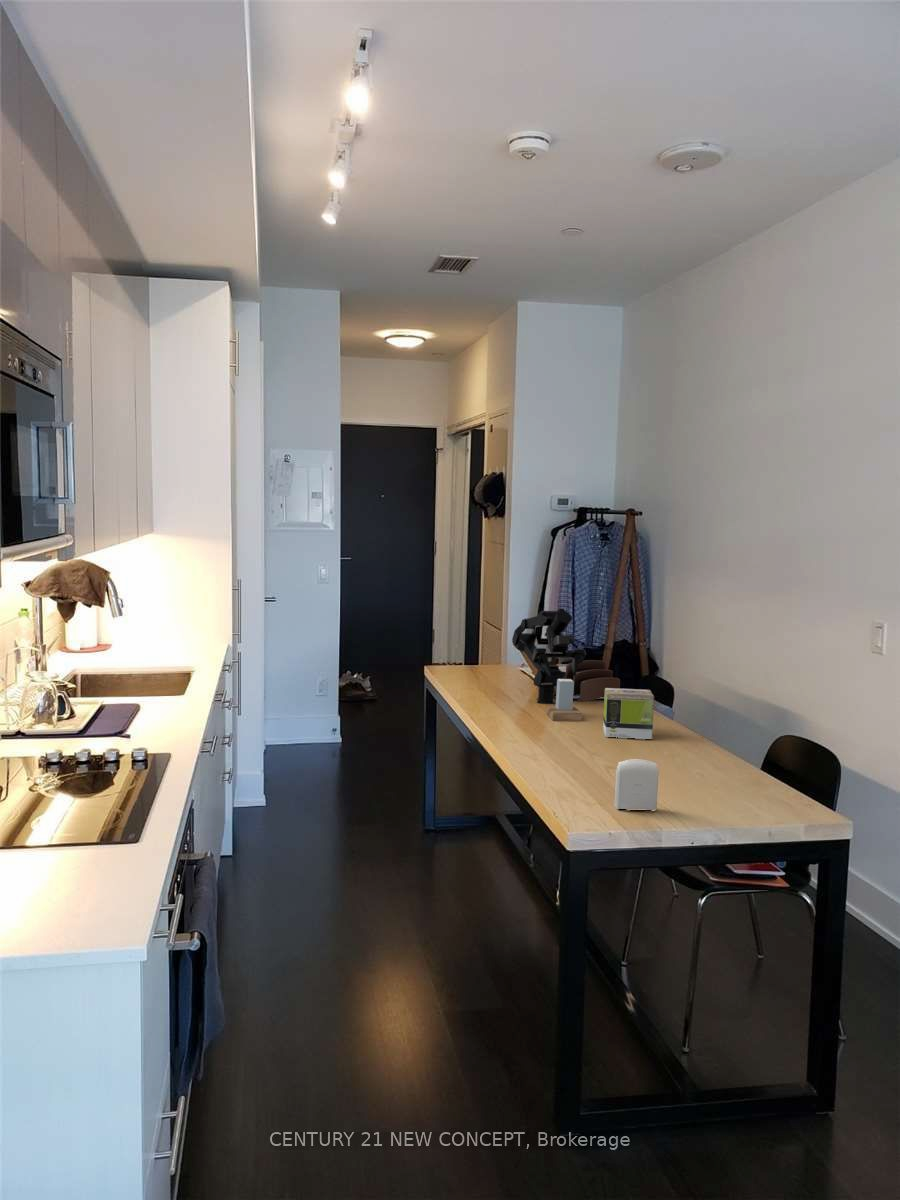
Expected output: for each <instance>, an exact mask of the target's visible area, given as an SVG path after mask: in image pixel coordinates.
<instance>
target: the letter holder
mask: <svg viewBox="0 0 900 1200" xmlns="http://www.w3.org/2000/svg"><path fill="white" fill-rule="evenodd" d="M571 664H572V662H570V663H568V664H567V665H566V667H565V677H564V679H571V680H572V681H574V693H573V695H576V694H580V698H577V700H578V701H577V702H579V701H580V702H579V703H583V702H593V700H594V701H596V700H595V699H597V698H600V697H604V695H605V688H620V689H621V679H620V678H619V677H613V675H614V672H613V670H611V669H607V668H606V667H607V661H605V660H601V659H600V660H598V659H584V660H583V662H582V663H580V664H579V665H578V666H577V672H576V676H574V674H573V669H572V665H571Z"/></svg>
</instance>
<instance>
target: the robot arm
mask: <svg viewBox="0 0 900 1200" xmlns="http://www.w3.org/2000/svg"><path fill="white" fill-rule="evenodd" d="M572 620H573V618H572V615H571V614H570V613H569V612H568V611H566V610H565V609H564V608H558V609H557V610H541V611H540V612H539V613H537V615H535V616H532V617H529V618H524V619H522V620H521V623H520V624H519V626H518V627H516V628H515V630H514V632H513V635H512V639H511V641H512V645H513V646H514V648H515V649H517V650H518V651H521V652H523V653H524V654H525V655H526V656H527V657H528V659H529V661H530V662H531V664H532V665H533V666H534V668H535V669H536V670H537V672H536V674H535V676H534V678H533V685H534V686H536V687H538V695H537V697H536V703H537V704H549V705H551V704H552V705H553V704H554V705H556V700H555V699H554V698H555V697H554V695H555V687H557V679H562V676H563V675H562V671H561V670H560V668H559V665H557V663H556V662H555V661H551V660H549V658H550V659H551V658H552V659H553V658H555V659H570V662H571V663H572V664H571V665H572V669H573V674H574V676H576V672H577V666H578V665H579V664H580V663H582V662H583V661H584V660H585V658H586V655H587V653H586V650H585V649H584V648H573V650H572V652H567V651H568V650H569V646H570V645H573V644H574V643H575V636H574V634H573V633H572V634H568V635H563V633H564V632H565V631H566V630H567V628H568V627H569V625H570V623H571V622H572ZM538 627H539V628H540V627H546V628H545V633H544V636H545V637H546V639H547V643H548V645H547V648H548V649H549V651H547V648H545V647H537V646H536V645H535V644H536V640H537V637H538V636H537V632H536V628H538ZM525 630H532V632H527V633H526V632H525Z"/></svg>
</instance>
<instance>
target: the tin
mask: <svg viewBox="0 0 900 1200" xmlns="http://www.w3.org/2000/svg"><path fill="white" fill-rule="evenodd" d="M573 693H574V681H572V680H571V679H565V678H561V679H557V686H556V694H555V695H556V696H555V706H556V708H557V709H558V710H573V706H574V700H573Z"/></svg>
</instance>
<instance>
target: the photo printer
mask: <svg viewBox="0 0 900 1200" xmlns="http://www.w3.org/2000/svg"><path fill="white" fill-rule="evenodd" d="M615 771H616V773H615V785H614V786H615V790H614V808H615V807H616V808H618V809H646V810H654V809H656V808H657V807H658V795H659V794H658V791H659V790H658V789H659V788H658V787H659V773H660V771H659V769H658V764H657V763H655V762H654V761H651V760H647V759H640V758H639V759H635V758H634V759H631V758H630V759H626V760H622V761H619V762H617V766H616V770H615Z"/></svg>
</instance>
